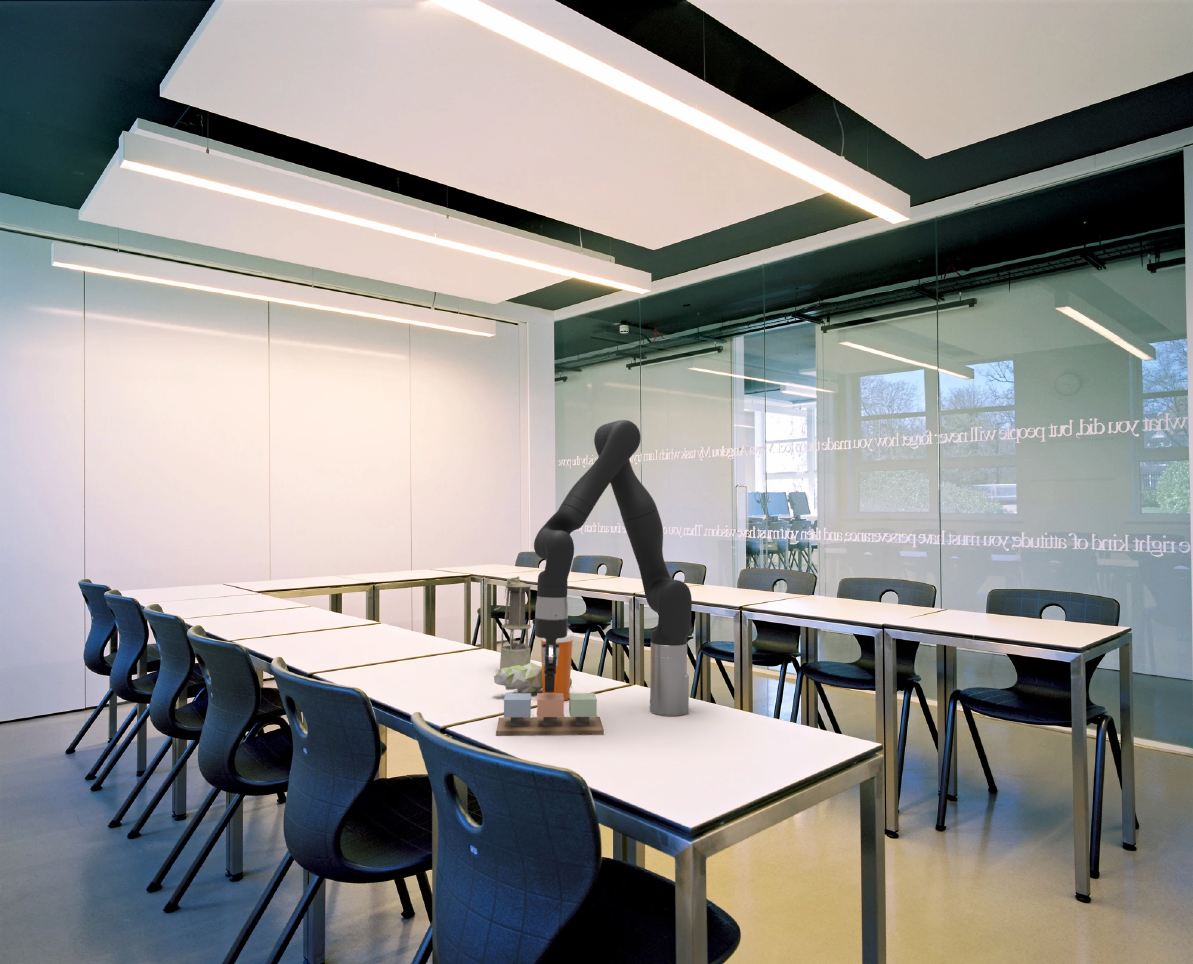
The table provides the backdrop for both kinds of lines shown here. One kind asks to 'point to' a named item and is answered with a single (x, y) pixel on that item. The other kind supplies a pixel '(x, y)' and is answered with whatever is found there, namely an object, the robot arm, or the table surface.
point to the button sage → (582, 705)
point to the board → (549, 726)
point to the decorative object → (521, 678)
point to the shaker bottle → (561, 665)
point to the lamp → (515, 624)
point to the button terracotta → (550, 705)
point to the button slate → (517, 705)
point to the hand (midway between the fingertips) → (549, 691)
